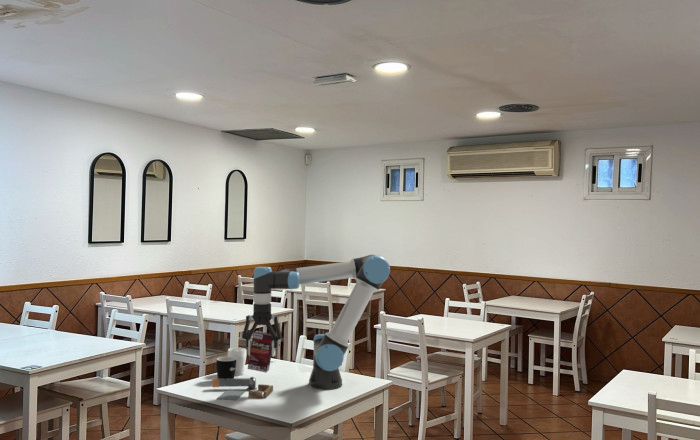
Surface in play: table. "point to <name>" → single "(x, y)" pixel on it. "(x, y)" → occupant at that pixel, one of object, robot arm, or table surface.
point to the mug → (226, 367)
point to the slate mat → (231, 395)
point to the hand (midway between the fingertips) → (261, 355)
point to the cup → (238, 359)
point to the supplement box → (260, 351)
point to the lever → (234, 382)
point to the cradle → (266, 393)
